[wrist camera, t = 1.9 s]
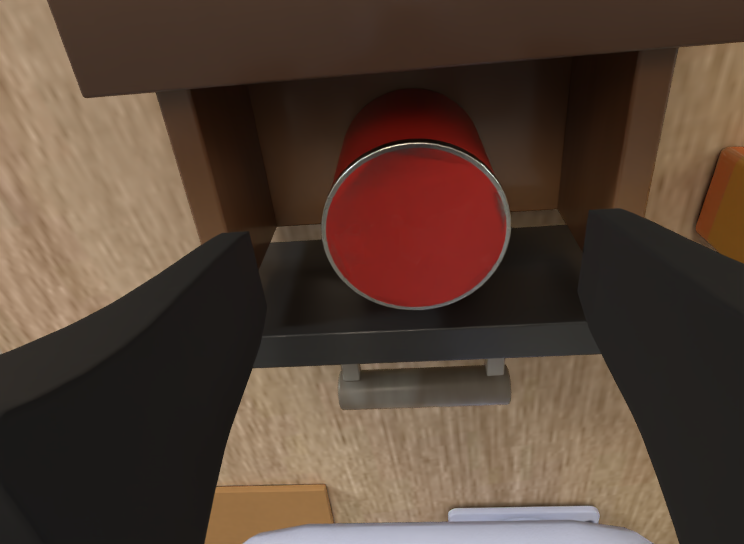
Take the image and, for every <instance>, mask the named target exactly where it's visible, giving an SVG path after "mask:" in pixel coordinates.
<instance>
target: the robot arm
mask: <svg viewBox="0 0 744 544" xmlns="http://www.w3.org/2000/svg"><path fill="white" fill-rule="evenodd" d="M577 292H578V296H579V299H580V302H581V306H582V309H583V312H584V315H585V318H586V321H587V324H588V327H589V330H590V332H591V334H592V336H593V338H594V340H595V342H596V344H597V346H598V348H599V350H600V352H601V354H602V356H603V358H604V360H605V362H606V364H607V366H608V368H609V370H610V372H611V374H612V376H613V378H614V380H615V382H616V384H617V386H618V388H619V390H620V391H621V393H622V395H623V397H624V399H625V401H626V403H627V405H628V407H629V409H630V411H631V413H632V415H633V417H634V419H635V422H636V424H637V426H638V428H639V431H640V433H641V435H642V438H643V440H644V443H645V446H646V448H647V451H648V454H649V457H650V459H651V462H652V465H653V467H654V470H655V473H656V475H657V478H658V481H659V484H660V487H661V490H662V493H663V496H664V498H665V501H666V504H667V507H668V510H669V513H670V516H671V519H672V522H673V525H674V528H675V531H676V534H677V537H678V541H679V544H744V263H741V262H739V261H737V260H734V259H732V258H729V257H727V256H724V255H722V254H720V253H718V252H715V251H713V250H711V249H709V248H706V247H704V246H702V245H700V244H698V243H696V242H694V241H691V240H689V239H687V238H685V237H683V236H681V235H679V234H677V233H675V232H673V231H671V230H669V229H666V228H664V227H662V226H660V225H658V224H656V223H654V222H652V221H650V220H648V219H646V218H643V217H641V216H639V215H637V214H634V213H632V212H629V211H627V210H624V209H621V208H613V209H597V210H589V212H588V219H587V226H586V233H585V240H584V247H583V255H582V262H581V269H580V276H579V283H578V290H577ZM266 313H267V303H266V299H265V295H264V291H263V287H262V283H261V279H260V275H259V270H258V266H257V262H256V258H255V254H254V250H253V246H252V241H251V237H250V233H249V231H245V232H229V233H221V234H219V235H217V236H215V237H213V238H211V239H210V240H208V241H207V242H205V243H204V244H202V245H201V246H199V247H198V248H196V249H195V250H193V251H192V252H190V253H189V254H187V255H186V256H184V257H183V258H181V259H180V260H179V261H177V262H176V263H174V264H173V265H171V266H170V267H168V268H167V269H165V270H164V271H162V272H161V273H160V274H158V275H157V276H155V277H153V278H152V279H150V280H149V281H147V282H145V283H144V284H142V285H141V286H139V287H137V288H136V289H134V290H133V291H131V292H129V293H128V294H126V295H125V296H123V297H121V298H120V299H118V300H116V301H115V302H113V303H111V304H109V305H108V306H106V307H104V308H102V309H100V310H99V311H97V312H95V313H93V314H91V315H89V316H87V317H85V318H83V319H81V320H79V321H77V322H75V323H73V324H71V325H69V326H67V327H65V328H63V329H60V330H58V331H56V332H53V333H51V334H49V335H46V336H44V337H42V338H39V339H37V340H35V341H33V342H30V343H28V344H26V345H23V346H21V347H19V348H16V349H14V350H11V351H9V352H6V353H3V354H1V355H0V544H205V539H206V534H207V529H208V524H209V519H210V514H211V509H212V504H213V499H214V495H215V490H216V485H217V481H218V477H219V472H220V468H221V464H222V459H223V455H224V451H225V447H226V443H227V440H228V437H229V433H230V430H231V427H232V424H233V421H234V418H235V416H236V413H237V410H238V407H239V404H240V402H241V399H242V396H243V393H244V390H245V388H246V385H247V382H248V379H249V376H250V374H251V371H252V368H253V365H254V362H255V359H256V356H257V353H258V350H259V347H260V344H261V339H262V335H263V330H264V324H265V318H266ZM599 517H600V516H599V512H598V509H597V508H596V507H593V506H544V507H488V508H454V509H452V510H450V511H449V513H448V522H396V523H334V524H305V525H300V526H295V527H289V528H284V529H278V530H273V531H267V532H262V533H259V534H257V535H255V536H253V537H251V538H249V539H248V540H247V541H245V542H244V543H243V544H653V543H652V542H650V541H649V540H647V539H646V538H644V537H643V536H641V535H640V534H638V533H636V532H634V531H632V530H629V529H627V528H625V527H618V526H611V525H604V524H598V522H599Z"/></svg>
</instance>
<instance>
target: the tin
mask: <svg viewBox="0 0 744 544" xmlns="http://www.w3.org/2000/svg"><path fill="white" fill-rule="evenodd" d="M321 233H322V241H323V246H324V250H325V252H326V255H327V258H328V260H329V262H330V264H331V265H332V267H333V269H334V270H335V272H336V273H337V274H338V276H339V277H340V278H341V279H342V280H343V281H344V282H345V283H346V284H347V285H348V286H349V287H350V288H351V289H353V290H354V291H355V292H356V293H358V294H360V295H361V296H363V297H364V298H366V299H368V300H370V301H373V302H375V303H377V304H380V305H383V306H386V307H391V308H396V309H403V310H425V309H433V308H437V307H442V306H445V305H448V304H451V303H454V302H456V301H458V300H461V299H463V298H464V297H466V296H468V295H470V294H471V293H473V292H474V291H475V290H477V289H478V288H479V287H481V286H482V285H483V284H484V283H485V282H486V281H487V280H488V279H489V278H490V277H491V276H492V274H493V273H494V272H495V271H496V269H497V268H498V266H499V265H500V263H501V261H502V260H503V257H504V255H505V253H506V250H507V247H508V244H509V240H510V234H511V214H510V208H509V204H508V201H507V198H506V195H505V192H504V190H503V188H502V186H501V184H500V182H499V180H498V179H497V178H496V176H495V174H494V171H493V169H492V166H491V164H490V161H489V159H488V156H487V154H486V152H485V149H484V147H483V144H482V142H481V139H480V137H479V134H478V132H477V129H476V127H475V125H474V123H473V121H472V120H471V118H470V117H469V116H468V114H467V113H466V112H465V111H464V110H463V109H462V108H461V107H460V106H459V105H458V104H457V103H455V102H454V101H453V100H451V99H449V98H448V97H446V96H444V95H442V94H439V93H437V92H433V91H430V90H425V89H402V90H396V91H393V92H389V93H387V94H384V95H382V96H380V97H378V98H376V99H375V100H373V101H371V102H370V103H369V104H367V105H366V106H365V107H364V108H363V109H362V110H361V111H360V112H359V113H358V114H357V115H356V117H355V118H354V119H353V121H352V122H351V124H350V126H349V128H348V130H347V132H346V135H345V138H344V141H343V145H342V149H341V152H340V156H339V160H338V164H337V168H336V172H335V175H334V179H333V183H332V187H331V189H330V191H329V194H328V196H327V199H326V202H325V205H324V210H323V214H322V222H321Z"/></svg>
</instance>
